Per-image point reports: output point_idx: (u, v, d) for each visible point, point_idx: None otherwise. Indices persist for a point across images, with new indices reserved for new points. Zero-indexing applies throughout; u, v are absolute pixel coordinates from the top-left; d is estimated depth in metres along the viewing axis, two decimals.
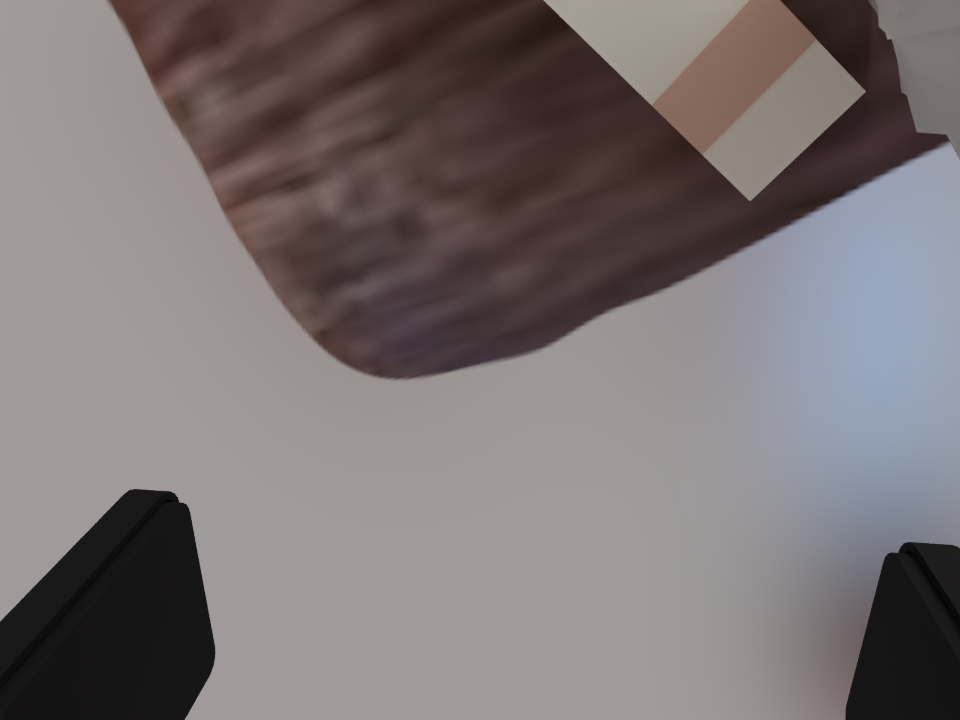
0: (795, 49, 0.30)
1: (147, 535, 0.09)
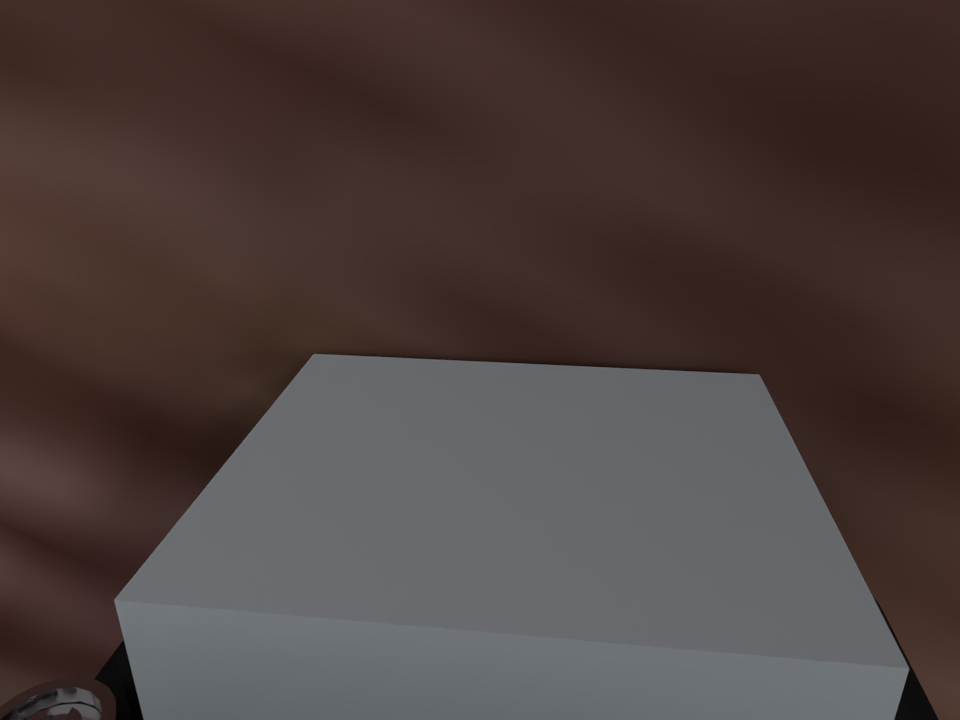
0: None
1: None
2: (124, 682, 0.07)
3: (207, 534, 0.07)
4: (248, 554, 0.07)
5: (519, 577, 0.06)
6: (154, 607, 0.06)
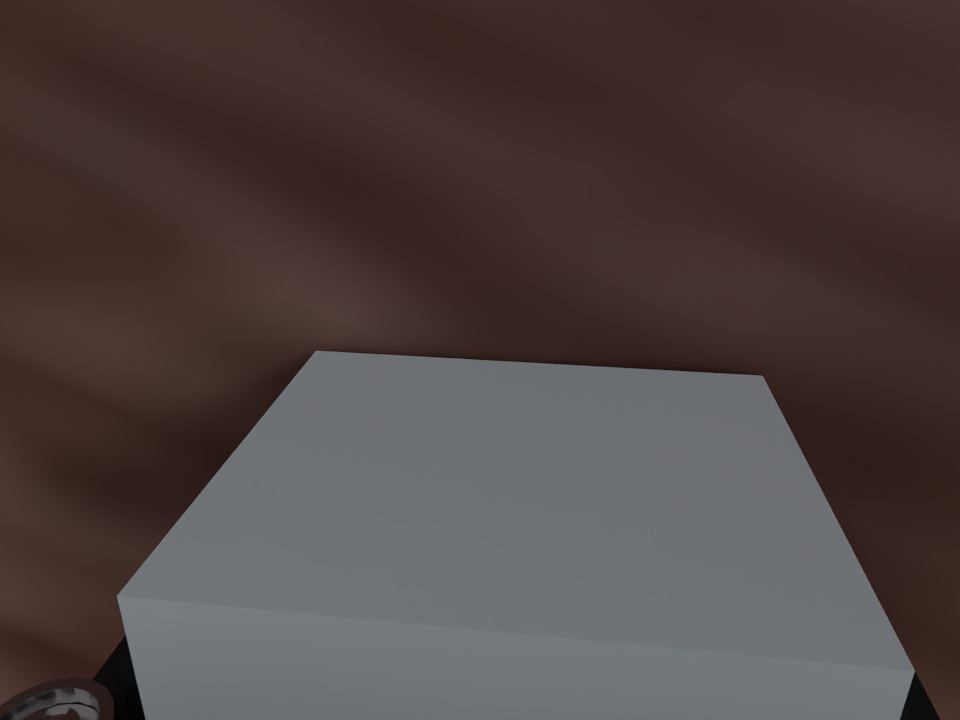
0: None
1: None
2: (122, 682, 0.07)
3: (210, 530, 0.07)
4: (252, 550, 0.07)
5: (524, 576, 0.06)
6: (157, 603, 0.06)
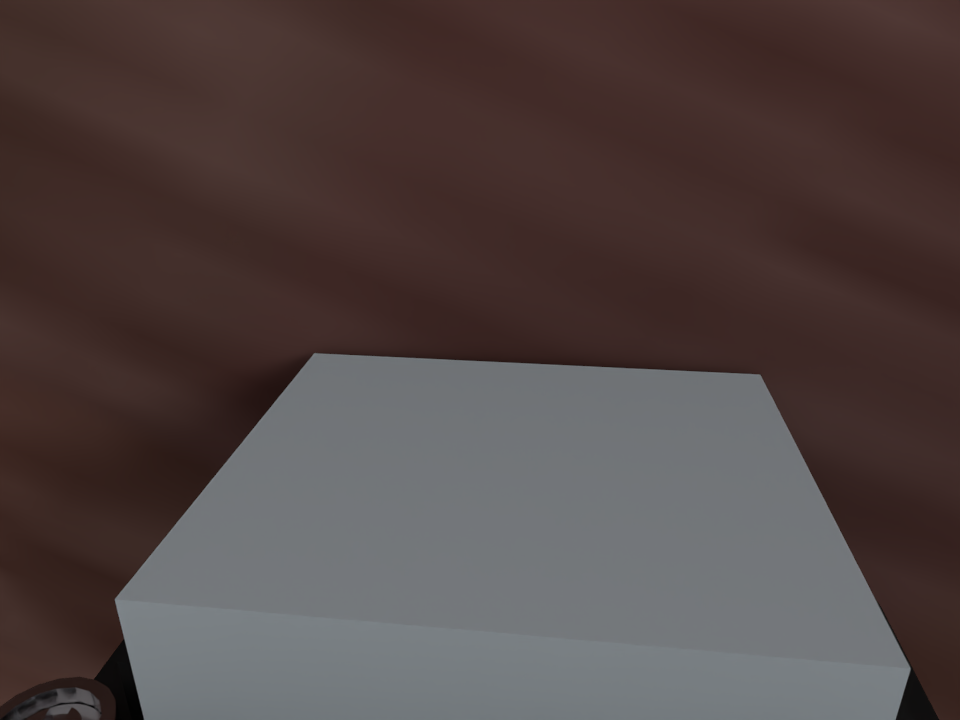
0: None
1: None
2: (124, 682, 0.07)
3: (208, 534, 0.07)
4: (249, 553, 0.07)
5: (521, 577, 0.06)
6: (155, 607, 0.06)
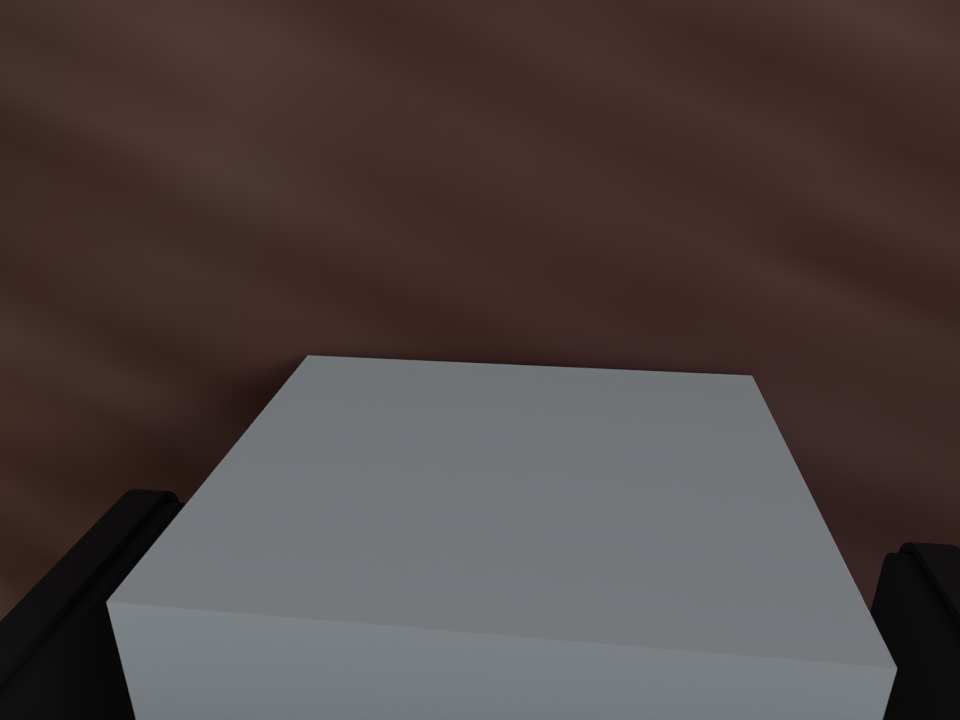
0: None
1: (147, 535, 0.09)
2: None
3: (199, 536, 0.07)
4: (240, 554, 0.07)
5: (510, 578, 0.06)
6: (146, 609, 0.06)
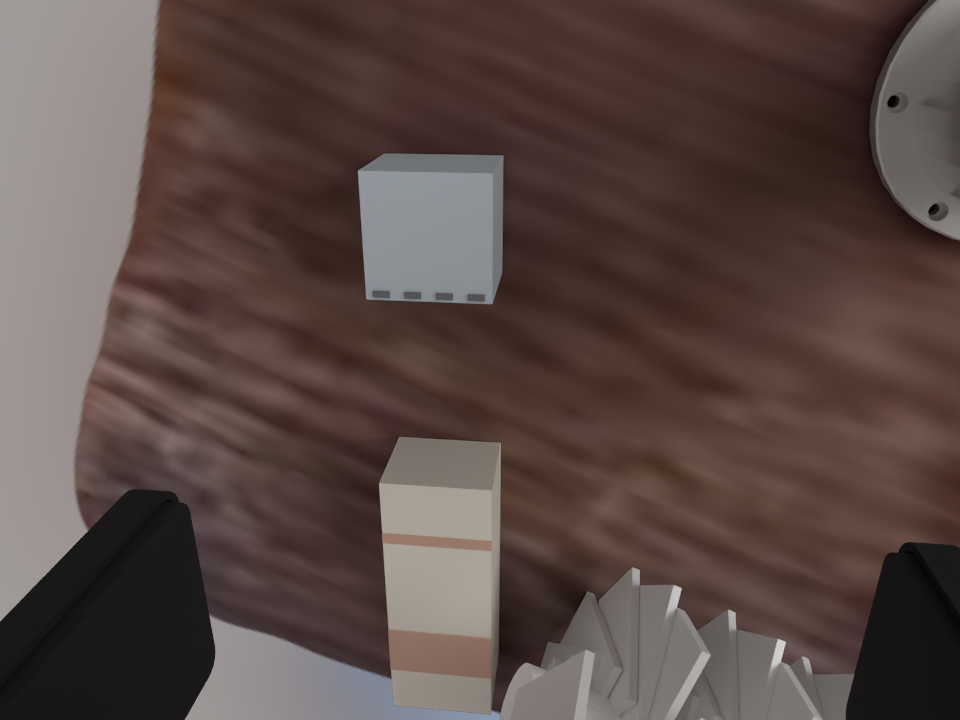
0: (477, 673, 0.45)
1: (147, 535, 0.09)
2: None
3: (370, 167, 0.35)
4: (379, 168, 0.34)
5: (431, 169, 0.34)
6: (364, 172, 0.34)
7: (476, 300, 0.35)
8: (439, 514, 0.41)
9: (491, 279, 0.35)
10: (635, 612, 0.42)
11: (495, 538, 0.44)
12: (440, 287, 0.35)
